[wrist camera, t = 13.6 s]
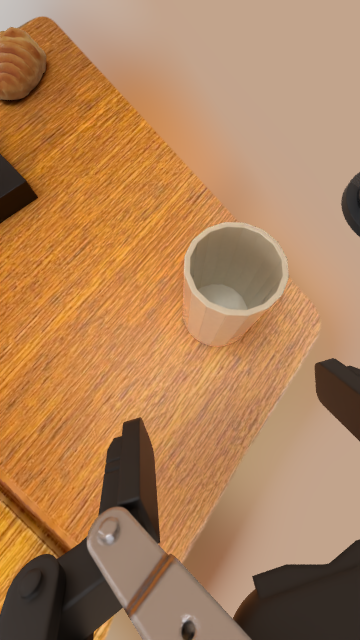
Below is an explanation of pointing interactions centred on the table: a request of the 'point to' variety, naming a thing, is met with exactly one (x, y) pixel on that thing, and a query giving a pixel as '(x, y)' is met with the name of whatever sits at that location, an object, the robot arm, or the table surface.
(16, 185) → the hob
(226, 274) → the cup
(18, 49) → the pastry
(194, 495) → the table surface
